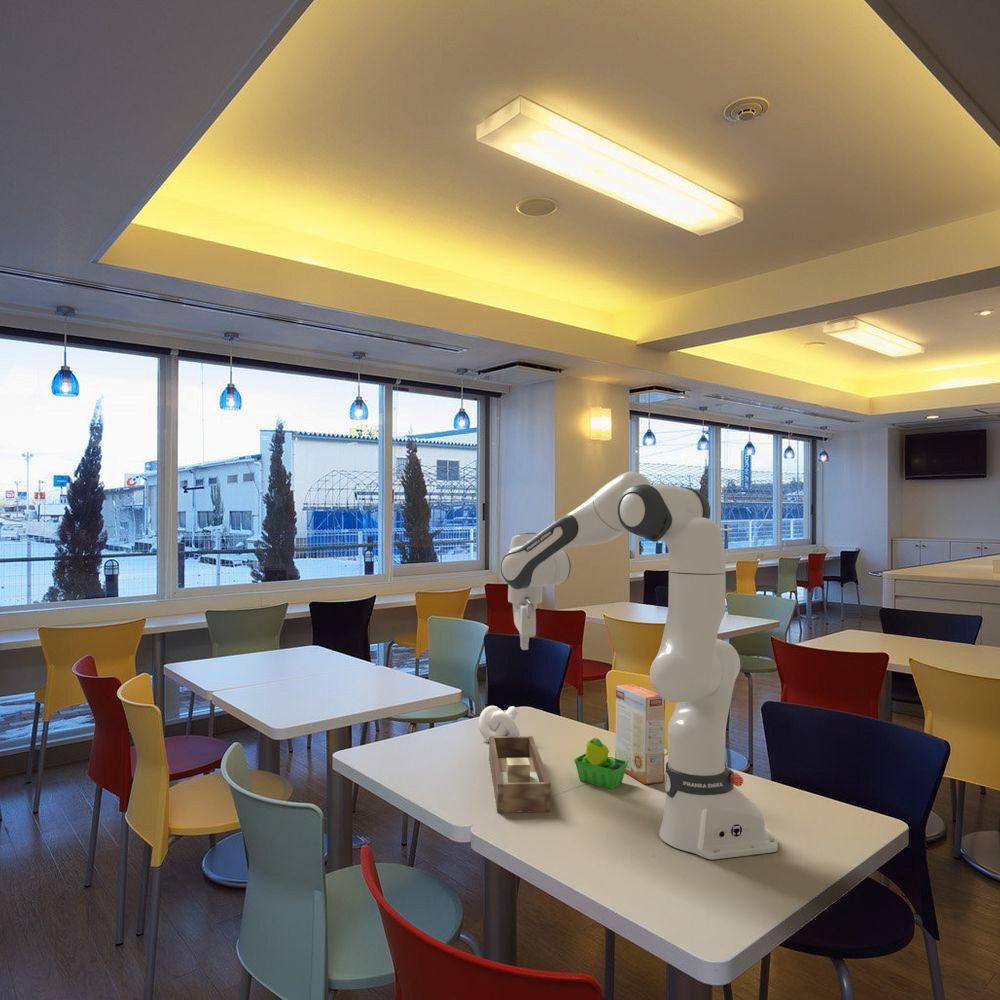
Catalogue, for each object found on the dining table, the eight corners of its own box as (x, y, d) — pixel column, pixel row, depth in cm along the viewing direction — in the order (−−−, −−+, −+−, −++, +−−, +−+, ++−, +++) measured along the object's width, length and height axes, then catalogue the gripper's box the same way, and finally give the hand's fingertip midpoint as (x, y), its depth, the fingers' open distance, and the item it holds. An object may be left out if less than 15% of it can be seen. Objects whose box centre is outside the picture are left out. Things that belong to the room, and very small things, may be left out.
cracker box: (665, 782, 176) (666, 695, 176) (644, 785, 174) (645, 697, 174) (634, 764, 189) (635, 682, 189) (614, 766, 187) (614, 684, 187)
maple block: (527, 774, 172) (527, 757, 172) (529, 782, 167) (529, 765, 167) (506, 775, 171) (506, 757, 171) (507, 782, 166) (508, 765, 166)
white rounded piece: (490, 730, 217) (491, 700, 217) (528, 736, 212) (529, 704, 212) (474, 741, 206) (475, 709, 206) (514, 747, 202) (514, 714, 202)
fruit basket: (629, 782, 176) (629, 735, 176) (611, 793, 169) (612, 744, 169) (588, 772, 183) (588, 726, 183) (569, 782, 175) (569, 735, 176)
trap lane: (532, 759, 192) (532, 736, 192) (550, 811, 158) (550, 783, 158) (489, 759, 191) (489, 736, 191) (497, 812, 157) (497, 784, 157)
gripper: (542, 600, 179) (541, 657, 179) (532, 591, 200) (532, 642, 199) (516, 600, 179) (515, 656, 178) (509, 591, 199) (508, 641, 199)
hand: (524, 648), depth 189 cm, fingers closed
